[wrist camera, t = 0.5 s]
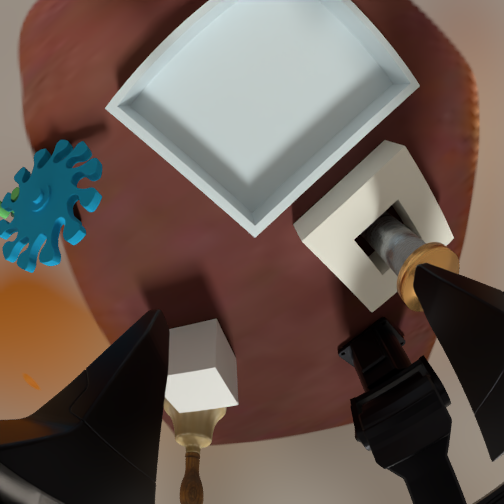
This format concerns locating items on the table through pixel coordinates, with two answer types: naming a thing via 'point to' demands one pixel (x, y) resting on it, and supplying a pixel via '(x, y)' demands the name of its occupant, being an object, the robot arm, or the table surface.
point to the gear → (48, 204)
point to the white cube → (201, 368)
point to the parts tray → (263, 98)
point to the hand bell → (193, 445)
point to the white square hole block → (371, 220)
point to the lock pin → (406, 254)
